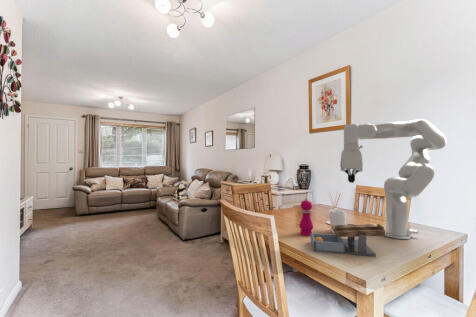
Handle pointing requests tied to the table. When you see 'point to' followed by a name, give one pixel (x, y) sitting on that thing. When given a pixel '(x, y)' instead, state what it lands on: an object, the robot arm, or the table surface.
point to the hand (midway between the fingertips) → (351, 182)
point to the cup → (337, 217)
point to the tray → (358, 230)
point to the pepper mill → (306, 218)
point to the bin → (328, 243)
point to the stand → (358, 245)
